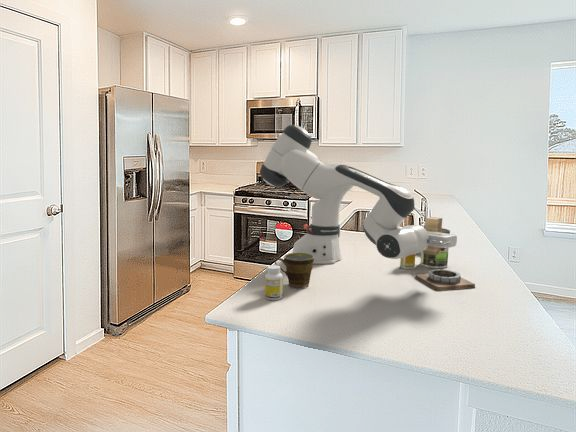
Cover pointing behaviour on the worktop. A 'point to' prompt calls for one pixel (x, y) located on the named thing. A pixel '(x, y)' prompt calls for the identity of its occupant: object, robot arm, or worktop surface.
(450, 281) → the grey stone ring
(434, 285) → the walnut board
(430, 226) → the oak post
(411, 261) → the supplement bottle
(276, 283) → the supplement bottle
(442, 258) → the coffee can
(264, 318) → the worktop surface
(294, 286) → the ceramic cup
